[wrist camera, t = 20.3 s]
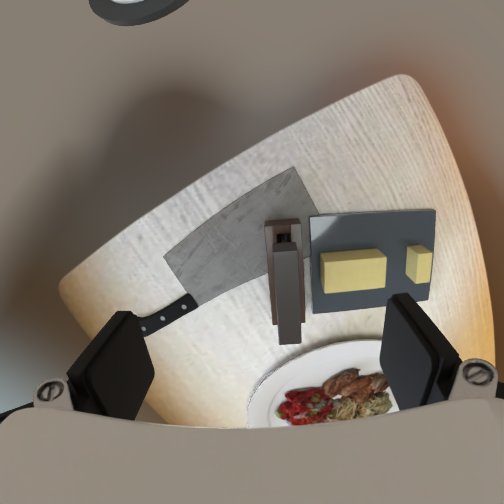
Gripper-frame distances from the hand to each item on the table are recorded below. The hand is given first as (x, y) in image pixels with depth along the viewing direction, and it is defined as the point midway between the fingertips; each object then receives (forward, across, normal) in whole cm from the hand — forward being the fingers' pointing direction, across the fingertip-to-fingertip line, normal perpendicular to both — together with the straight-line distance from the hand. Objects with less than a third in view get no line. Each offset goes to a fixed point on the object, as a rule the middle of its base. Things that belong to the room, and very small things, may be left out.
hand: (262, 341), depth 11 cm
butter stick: (+23, -9, +7) cm, 26 cm away
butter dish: (+24, -13, +7) cm, 28 cm away
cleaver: (+25, +8, +6) cm, 26 cm away
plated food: (+24, -10, +32) cm, 41 cm away
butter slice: (+23, -18, +7) cm, 30 cm away
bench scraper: (+24, -2, +7) cm, 25 cm away
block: (+24, -2, +7) cm, 25 cm away
